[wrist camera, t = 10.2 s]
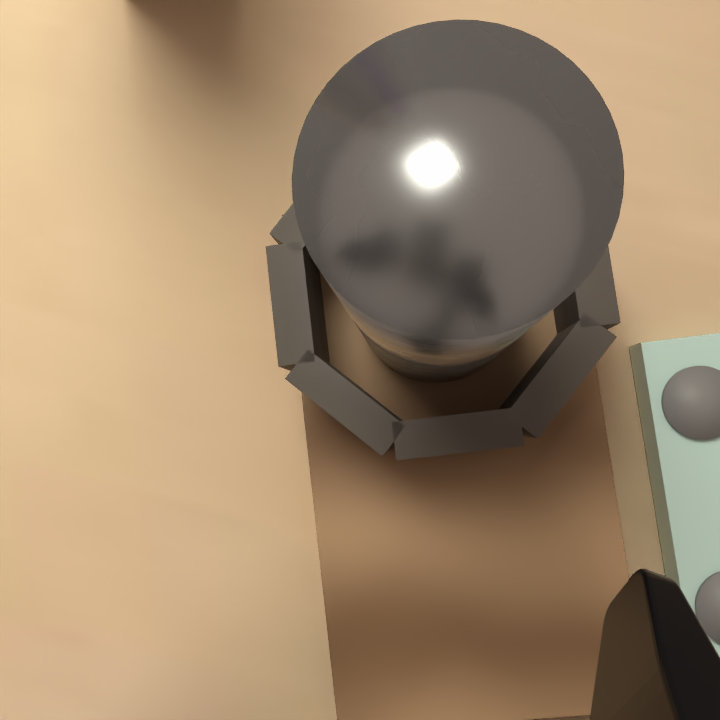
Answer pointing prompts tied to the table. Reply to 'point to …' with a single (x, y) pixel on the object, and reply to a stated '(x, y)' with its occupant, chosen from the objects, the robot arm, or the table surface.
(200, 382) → the table surface
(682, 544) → the mint green knobbed plate
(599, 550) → the brown board with ring
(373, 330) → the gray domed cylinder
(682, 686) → the robot arm
